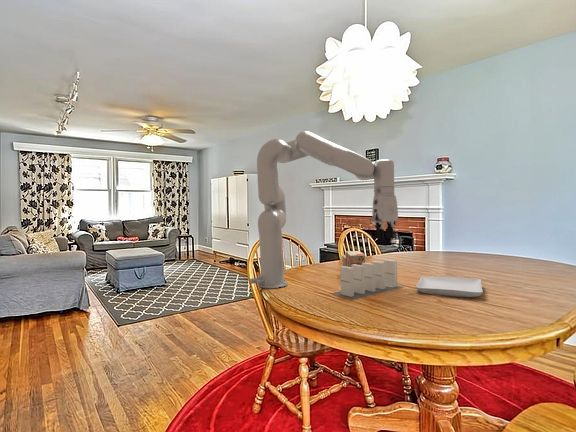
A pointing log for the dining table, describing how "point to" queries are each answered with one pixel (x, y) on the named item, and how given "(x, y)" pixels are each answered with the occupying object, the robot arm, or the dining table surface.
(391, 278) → the domino
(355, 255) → the cardboard box
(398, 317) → the dining table surface
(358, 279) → the domino
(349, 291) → the domino
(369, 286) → the domino
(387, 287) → the domino mat
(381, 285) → the domino
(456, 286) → the salad plate
